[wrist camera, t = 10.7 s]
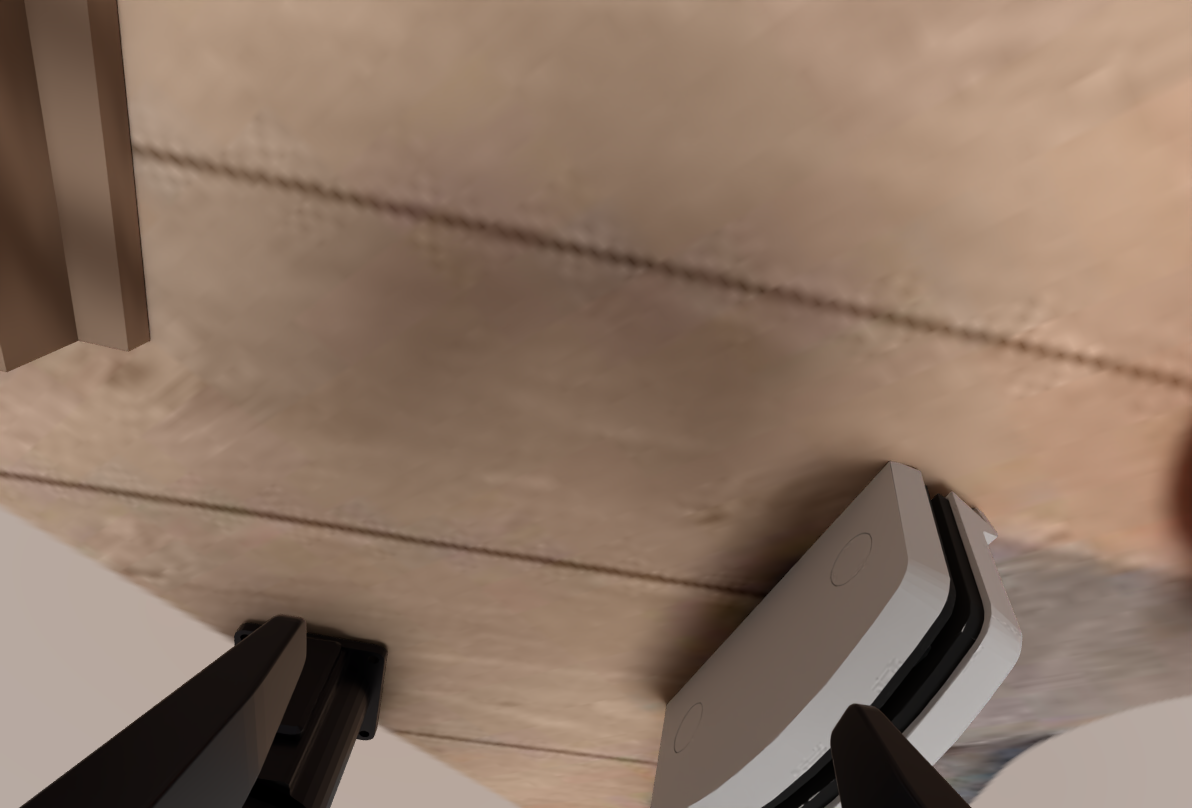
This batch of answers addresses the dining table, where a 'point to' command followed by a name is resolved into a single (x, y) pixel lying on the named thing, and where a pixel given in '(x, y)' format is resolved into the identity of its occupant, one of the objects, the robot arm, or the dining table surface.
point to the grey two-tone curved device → (846, 653)
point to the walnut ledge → (66, 183)
